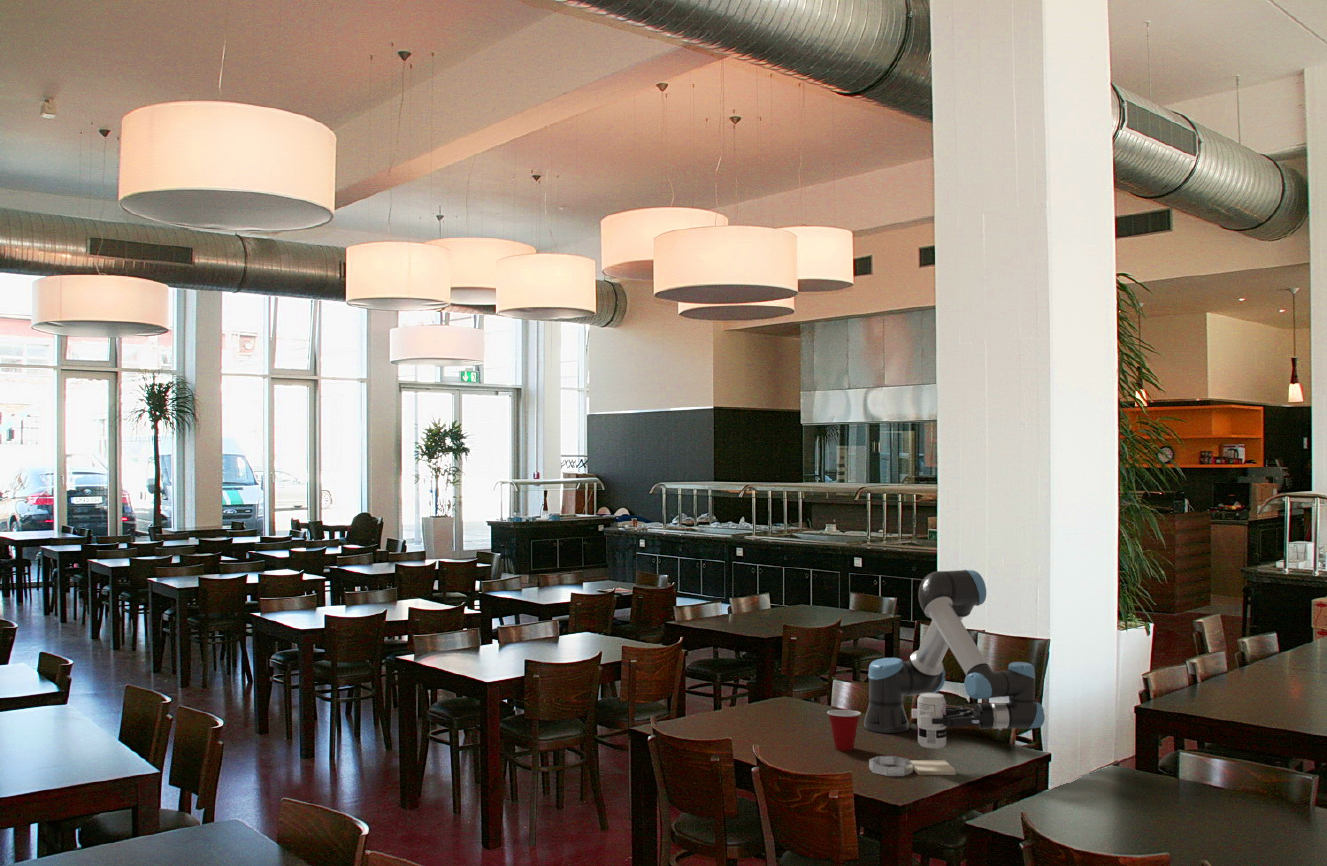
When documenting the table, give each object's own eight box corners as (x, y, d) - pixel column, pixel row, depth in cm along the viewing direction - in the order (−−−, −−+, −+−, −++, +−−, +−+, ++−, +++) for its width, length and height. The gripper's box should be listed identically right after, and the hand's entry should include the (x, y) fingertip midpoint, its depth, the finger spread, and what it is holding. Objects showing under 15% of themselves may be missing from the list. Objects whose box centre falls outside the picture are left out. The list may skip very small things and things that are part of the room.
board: (908, 764, 319) (908, 760, 319) (944, 763, 319) (944, 759, 319) (919, 775, 308) (919, 771, 308) (955, 774, 308) (955, 770, 308)
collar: (866, 764, 319) (866, 756, 319) (905, 763, 319) (905, 755, 319) (875, 776, 307) (875, 767, 307) (916, 775, 307) (916, 767, 307)
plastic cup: (859, 744, 341) (859, 707, 342) (862, 753, 331) (862, 715, 331) (826, 743, 342) (826, 706, 343) (828, 752, 332) (827, 714, 332)
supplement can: (914, 742, 317) (913, 692, 318) (940, 741, 318) (940, 691, 318) (923, 749, 309) (922, 698, 310) (950, 748, 310) (949, 697, 310)
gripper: (1003, 737, 304) (926, 738, 303) (979, 720, 325) (906, 721, 324) (1003, 711, 304) (926, 712, 303) (978, 695, 325) (906, 696, 324)
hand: (916, 717), depth 314 cm, fingers closed on supplement can, 8 cm apart
